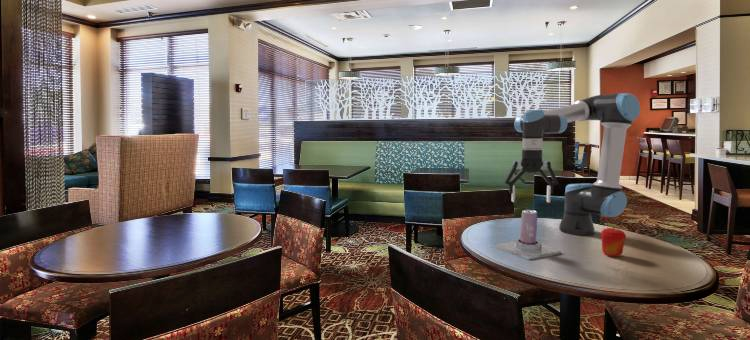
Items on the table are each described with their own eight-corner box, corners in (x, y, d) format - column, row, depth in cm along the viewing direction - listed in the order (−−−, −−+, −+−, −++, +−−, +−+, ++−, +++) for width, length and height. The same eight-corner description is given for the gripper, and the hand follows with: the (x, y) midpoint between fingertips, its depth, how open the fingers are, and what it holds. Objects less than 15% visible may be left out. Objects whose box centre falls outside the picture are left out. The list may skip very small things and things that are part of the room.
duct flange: (527, 241, 180) (527, 233, 180) (561, 253, 164) (562, 244, 163) (495, 247, 172) (495, 238, 172) (528, 259, 156) (528, 250, 156)
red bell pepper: (629, 259, 157) (631, 228, 156) (606, 258, 158) (608, 228, 156) (616, 252, 166) (619, 223, 164) (595, 251, 166) (597, 223, 165)
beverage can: (534, 245, 170) (536, 210, 168) (536, 250, 164) (538, 213, 163) (519, 244, 171) (520, 209, 170) (521, 249, 166) (522, 212, 164)
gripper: (500, 149, 162) (499, 202, 164) (568, 149, 158) (566, 204, 160) (498, 148, 169) (497, 199, 172) (562, 148, 165) (560, 200, 167)
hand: (530, 201), depth 166 cm, fingers open, 13 cm apart
